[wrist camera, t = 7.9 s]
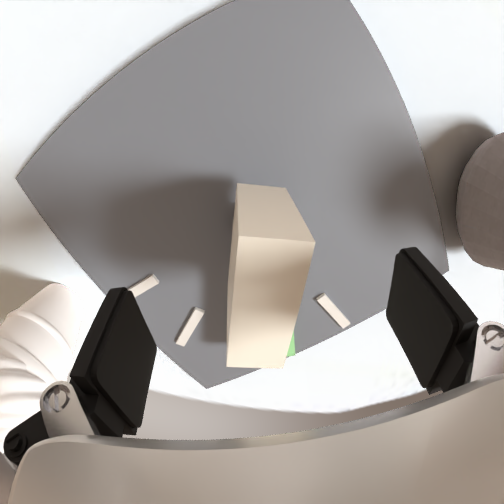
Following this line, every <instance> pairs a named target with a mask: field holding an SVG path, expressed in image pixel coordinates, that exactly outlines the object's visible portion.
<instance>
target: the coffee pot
mask: <svg viewBox="0 0 504 504" xmlns="http://www.w3.org/2000/svg"><path fill="white" fill-rule="evenodd" d="M456 220H457V230H458V233H459V235H460V238H461V241H462V244H463V246H464V249H465V251H466V252H467V254H468V255H469V256H470V257H471V259H472V260H473V261H475V262H477V263H479V264H481V265H483V266H486V267H491V268H495V269H500V270H504V133H501V134H498V135H495V136H493V137H491V138H489V139H487V140H486V141H484V142H483V143H482V144H481V145H480V146H479V147H478V148H477V149H476V151H475V152H474V154H473V155H472V157H471V158H470V160H469V161H468V163H467V164H466V166H465V168H464V170H463V173H462V175H461V177H460V181H459V186H458V190H457V205H456Z"/></svg>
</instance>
